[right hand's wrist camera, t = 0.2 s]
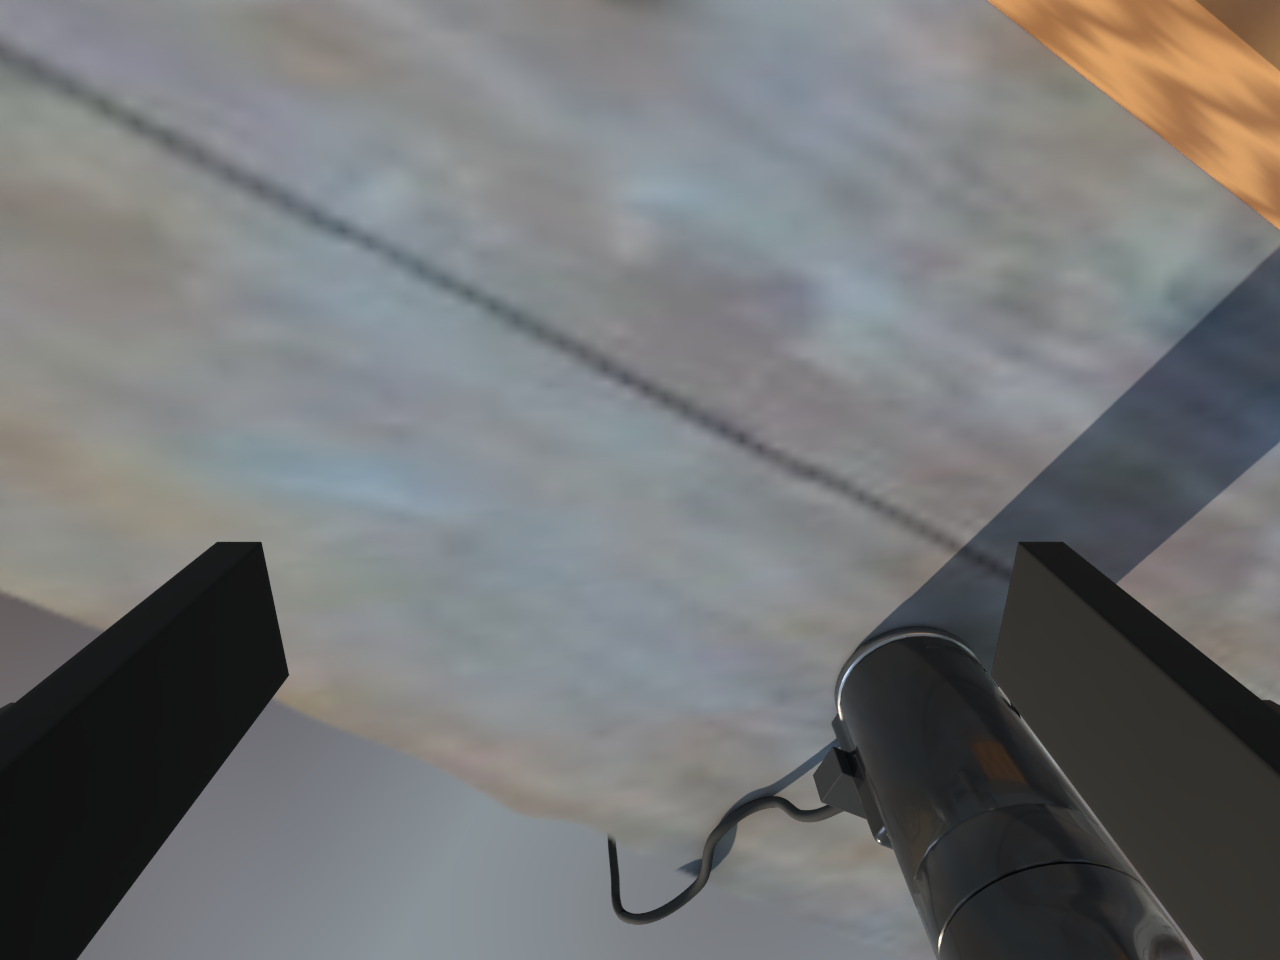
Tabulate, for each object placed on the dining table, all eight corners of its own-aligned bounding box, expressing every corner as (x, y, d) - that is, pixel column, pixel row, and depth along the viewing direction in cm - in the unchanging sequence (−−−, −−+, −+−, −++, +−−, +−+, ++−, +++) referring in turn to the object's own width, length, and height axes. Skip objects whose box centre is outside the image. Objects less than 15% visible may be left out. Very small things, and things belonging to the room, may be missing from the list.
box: (985, -1, 33) (1106, -73, 25) (1081, -145, 31) (1248, -278, 23) (1288, 237, 37) (1486, 246, 28) (1390, 120, 35) (1634, 93, 26)
